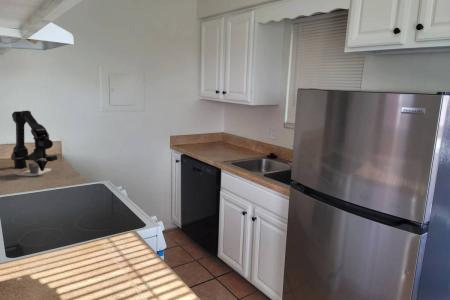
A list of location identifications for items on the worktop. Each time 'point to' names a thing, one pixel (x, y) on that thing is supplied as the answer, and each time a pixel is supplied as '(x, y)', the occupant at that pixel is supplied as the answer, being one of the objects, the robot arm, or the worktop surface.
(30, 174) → the switch plate
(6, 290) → the worktop surface
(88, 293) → the worktop surface
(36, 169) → the slider
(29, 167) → the slider on
